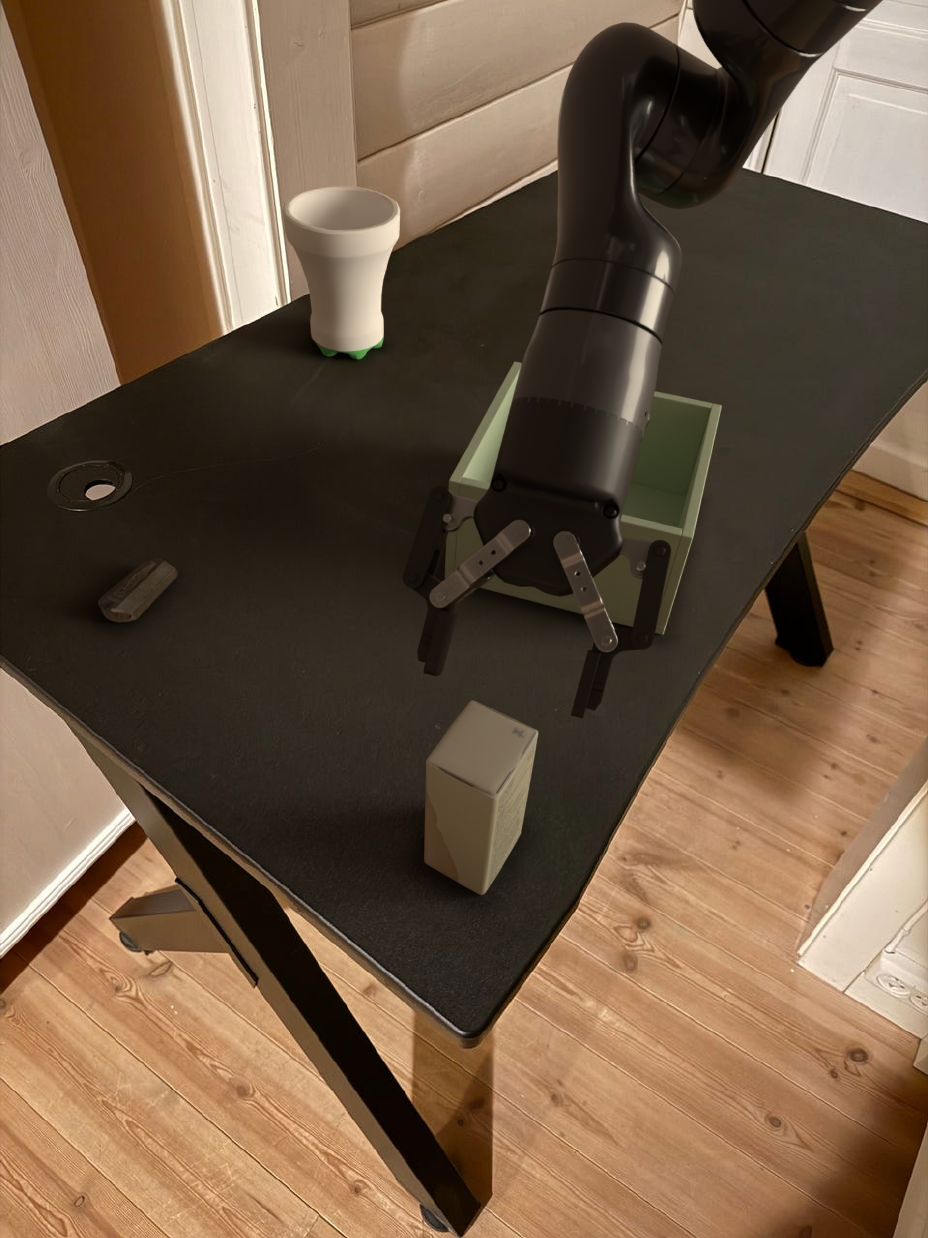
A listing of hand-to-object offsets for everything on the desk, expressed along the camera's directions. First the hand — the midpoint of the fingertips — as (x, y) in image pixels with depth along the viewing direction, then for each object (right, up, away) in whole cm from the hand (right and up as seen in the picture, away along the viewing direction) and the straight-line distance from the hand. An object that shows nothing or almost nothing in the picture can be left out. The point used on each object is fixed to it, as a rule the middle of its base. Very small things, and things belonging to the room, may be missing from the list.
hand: (504, 694), depth 51 cm
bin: (+7, +11, +26) cm, 29 cm away
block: (-27, +6, +18) cm, 33 cm away
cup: (-15, +34, +46) cm, 59 cm away
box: (-2, -10, +5) cm, 11 cm away
